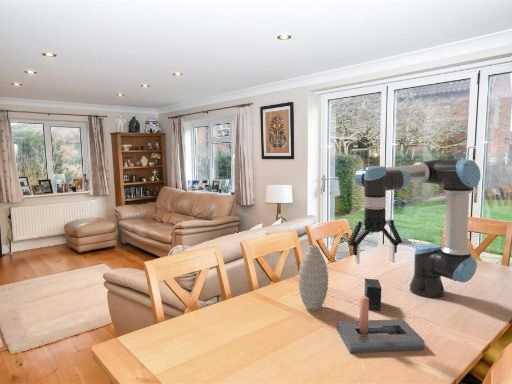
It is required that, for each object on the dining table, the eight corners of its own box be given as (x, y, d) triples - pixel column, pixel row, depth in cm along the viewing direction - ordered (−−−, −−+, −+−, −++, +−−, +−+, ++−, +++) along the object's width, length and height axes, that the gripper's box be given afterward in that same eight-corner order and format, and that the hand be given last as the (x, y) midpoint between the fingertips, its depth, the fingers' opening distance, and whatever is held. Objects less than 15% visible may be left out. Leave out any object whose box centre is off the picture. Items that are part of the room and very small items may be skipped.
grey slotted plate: (402, 327, 138) (402, 319, 138) (423, 350, 122) (424, 340, 122) (336, 329, 137) (336, 321, 136) (349, 353, 121) (349, 343, 120)
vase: (330, 304, 159) (331, 243, 156) (323, 316, 148) (324, 250, 145) (303, 300, 165) (303, 240, 162) (294, 311, 153) (294, 247, 150)
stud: (367, 336, 132) (368, 295, 130) (372, 343, 127) (373, 300, 125) (354, 336, 131) (355, 295, 130) (358, 344, 126) (359, 301, 125)
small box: (381, 310, 153) (382, 287, 152) (365, 309, 154) (366, 286, 153) (378, 300, 163) (378, 278, 162) (363, 299, 164) (364, 278, 163)
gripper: (402, 204, 137) (401, 257, 140) (339, 207, 136) (339, 260, 138) (412, 207, 130) (411, 263, 133) (345, 210, 128) (345, 267, 131)
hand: (374, 262), depth 136 cm, fingers open, 13 cm apart
